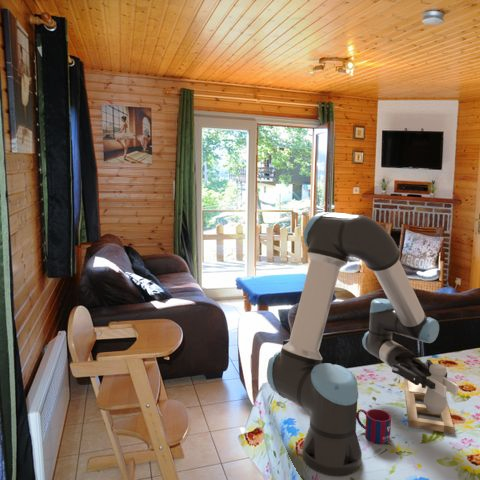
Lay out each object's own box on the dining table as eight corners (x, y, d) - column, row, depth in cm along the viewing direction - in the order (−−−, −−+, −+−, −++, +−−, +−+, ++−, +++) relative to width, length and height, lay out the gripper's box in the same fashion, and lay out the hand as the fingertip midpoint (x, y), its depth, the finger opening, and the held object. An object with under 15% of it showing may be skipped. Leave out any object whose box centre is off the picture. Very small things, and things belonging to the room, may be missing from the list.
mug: (380, 447, 121) (382, 424, 120) (350, 431, 128) (351, 409, 127) (394, 438, 125) (396, 416, 124) (364, 423, 132) (366, 401, 131)
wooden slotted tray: (408, 426, 131) (408, 418, 131) (403, 382, 159) (404, 376, 159) (453, 433, 127) (453, 426, 127) (440, 387, 156) (440, 380, 155)
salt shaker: (418, 406, 125) (421, 362, 123) (435, 403, 127) (438, 360, 125) (433, 417, 120) (437, 370, 118) (450, 413, 121) (454, 368, 120)
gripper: (418, 366, 142) (474, 401, 120) (373, 370, 138) (423, 408, 115) (419, 343, 141) (477, 374, 119) (375, 347, 137) (426, 380, 114)
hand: (450, 391), depth 117 cm, fingers closed on salt shaker, 3 cm apart
